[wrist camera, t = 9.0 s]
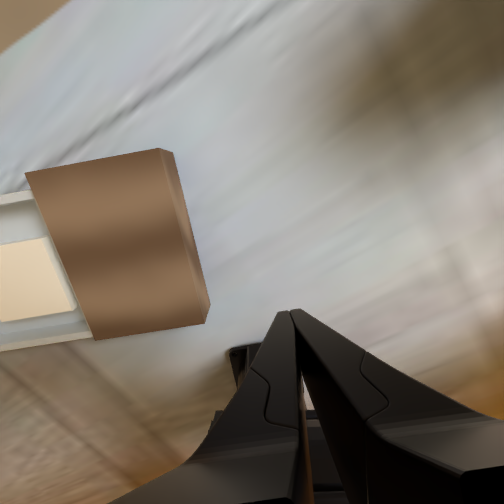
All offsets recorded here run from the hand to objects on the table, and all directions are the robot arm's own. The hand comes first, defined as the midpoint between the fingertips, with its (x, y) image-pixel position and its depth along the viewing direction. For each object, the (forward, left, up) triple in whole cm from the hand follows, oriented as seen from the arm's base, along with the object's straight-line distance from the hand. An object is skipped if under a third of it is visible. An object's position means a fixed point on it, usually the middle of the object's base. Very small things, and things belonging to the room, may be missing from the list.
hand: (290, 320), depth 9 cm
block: (+1, +19, -12) cm, 23 cm away
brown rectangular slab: (+1, +11, -12) cm, 16 cm away
